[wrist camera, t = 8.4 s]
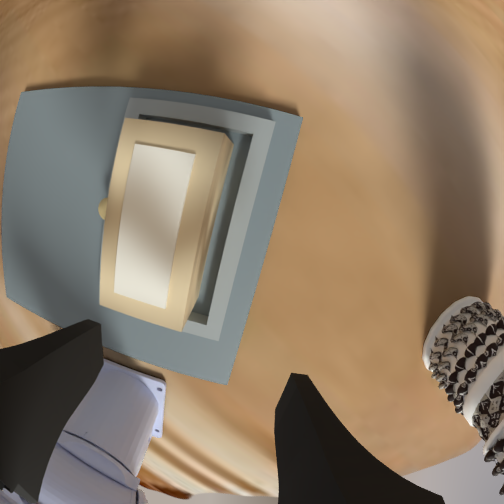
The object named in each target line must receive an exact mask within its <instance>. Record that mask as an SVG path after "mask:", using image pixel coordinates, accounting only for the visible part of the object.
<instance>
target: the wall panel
mask: <svg viewBox="0 0 504 504" xmlns="http://www.w3.org/2000/svg"><path fill="white" fill-rule="evenodd" d="M125 118H132V119H141V120H150V121H157V122H164V123H171V124H178V125H184V126H190V127H195V128H201V129H206V130H211V131H216V132H221V133H225V134H226V136H227V137H228V138H229V139H230V140H231V142H232V143H233V144H234V147H233V151H232V154H231V158H230V162H229V166H228V170H227V174H226V178H225V182H224V186H223V190H222V194H221V198H220V202H219V206H218V210H217V214H216V219H215V223H214V227H213V231H212V236H211V240H210V245H209V249H208V254H207V258H206V263H205V268H204V272H203V277H202V282H201V287H200V292H199V297H198V299H197V301H196V303H195V305H194V307H193V309H192V311H191V313H190V315H189V317H188V320H187V322H186V324H185V326H184V328H183V330H182V332H179V331H176V330H173V329H169V328H166V327H163V326H160V325H156V324H153V323H150V322H147V321H144V320H141V319H138V318H135V317H132V316H129V315H126V314H124V313H121V312H118V311H115V310H112V309H110V308H107V307H104V306H102V305H100V272H101V255H102V243H103V233H104V223H105V215H106V208H107V201H108V194H109V188H110V182H111V177H112V171H113V166H114V161H115V157H116V152H117V148H118V143H119V139H120V135H121V131H122V127H123V123H124V120H125ZM302 120H303V117H300V116H296V115H293V114H289V113H286V112H282V111H278V110H274V109H271V108H267V107H262V106H258V105H254V104H250V103H245V102H240V101H235V100H230V99H225V98H220V97H214V96H208V95H202V94H195V93H188V92H180V91H171V90H161V89H150V88H135V87H67V88H53V89H42V90H34V91H26V92H21V95H20V98H19V102H18V106H17V109H16V113H15V117H14V122H13V126H12V131H11V135H10V141H9V146H8V152H7V159H6V166H5V174H4V184H3V197H2V256H3V270H4V279H5V288H6V295H7V298H9V299H11V300H12V301H14V302H16V303H17V304H19V305H21V306H22V307H24V308H26V309H28V310H29V311H31V312H33V313H35V314H37V315H38V316H40V317H42V318H44V319H46V320H48V321H50V322H52V323H54V324H56V325H58V326H60V327H62V328H66V327H68V326H70V325H73V324H75V323H78V322H81V321H83V320H86V319H90V320H92V321H95V322H97V323H100V324H101V333H102V346H104V347H106V348H109V349H111V350H114V351H116V352H119V353H122V354H124V355H127V356H130V357H132V358H135V359H138V360H141V361H144V362H147V363H149V364H152V365H155V366H159V367H162V368H165V369H168V370H171V371H175V372H178V373H181V374H185V375H188V376H192V377H196V378H199V379H203V380H207V381H211V382H215V383H219V384H224V385H227V384H228V381H229V377H230V374H231V371H232V368H233V364H234V361H235V358H236V354H237V351H238V348H239V344H240V341H241V337H242V334H243V331H244V327H245V324H246V321H247V317H248V314H249V310H250V307H251V303H252V300H253V297H254V293H255V290H256V286H257V283H258V279H259V276H260V272H261V269H262V265H263V262H264V258H265V255H266V251H267V248H268V244H269V241H270V237H271V234H272V230H273V226H274V223H275V219H276V216H277V212H278V209H279V205H280V201H281V198H282V194H283V190H284V187H285V183H286V179H287V176H288V172H289V168H290V165H291V161H292V157H293V154H294V150H295V146H296V142H297V139H298V135H299V131H300V127H301V124H302Z"/></svg>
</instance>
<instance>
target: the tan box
mask: <svg viewBox="0 0 504 504" xmlns="http://www.w3.org/2000/svg"><path fill="white" fill-rule="evenodd" d="M233 147H234V144H233V143H232V142H231V140H230V139H229V138H228V137H227V136H226V134H225V133H221V132H216V131H211V130H206V129H201V128H195V127H190V126H184V125H178V124H171V123H164V122H157V121H150V120H141V119H132V118H125V120H124V123H123V127H122V131H121V135H120V139H119V143H118V148H117V152H116V157H115V161H114V166H113V171H112V177H111V182H110V188H109V194H108V201H107V208H106V215H105V223H104V233H103V243H102V255H101V272H100V305H102V306H104V307H107V308H110V309H112V310H115V311H118V312H121V313H124V314H126V315H129V316H132V317H135V318H138V319H141V320H144V321H147V322H150V323H153V324H156V325H160V326H163V327H166V328H169V329H173V330H176V331H179V332H182V330H183V328H184V326H185V324H186V322H187V320H188V317H189V315H190V313H191V311H192V309H193V307H194V305H195V303H196V301H197V299H198V297H199V292H200V287H201V282H202V277H203V272H204V268H205V263H206V258H207V254H208V249H209V245H210V240H211V236H212V231H213V227H214V223H215V219H216V214H217V210H218V206H219V202H220V198H221V194H222V190H223V186H224V182H225V178H226V174H227V170H228V166H229V162H230V158H231V154H232V151H233Z"/></svg>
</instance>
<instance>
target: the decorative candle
mask: <svg viewBox="0 0 504 504" xmlns="http://www.w3.org/2000/svg"><path fill="white" fill-rule="evenodd" d="M422 359H423V361H424V364H425V367H426V368H427V369H428V370H430V371H432V372H433V374H432V376H431V377H432V378H433V379H434V378H436V380H437V381H438V382H440V383H439V386H438V387H439V389H443V388H445V392H446V393H447V394H448V401H450V402H452V401H453V402H454V405H455V406H456V408H455V411H456V413H461V414H462V415H464V417H465V418H466V420H467V421H468V423H469V424H470V426H474V427H475V428H477V430H478V432H479V435H480V437H481V438H482V439H483V440H484V441H485V442H486V443H485V445H484V447H483V453H484V455H485V458H484V461H485V462H490V461H495V459H497V461H498V463H496V466H495V468H494V469H493V471H492V475H493V476H497V475H499V474H503V475H504V317H503V316H502V314H501V312H500V311H499V310H497V309H495V310H494V309H492V307H491V305H490V304H489V303H487V302H485V303H483V302H482V301H481V299H480V298H478V297H472V296H467V297H464V298H462V299H460V300H457V301H455V302H454V303H453V304H452V305H451V306H449V307H448V308H447V309H446V310H445V311H444V312H442V314H441V315H440V316H439V318H438V319H437V320H436V322H435V323H434V324H433V326H432V327H431V329H430V331H429V333H428V336H427V338H426V340H425V342H424V346H423V354H422ZM499 494H500V495H504V485H503V486H502V488H501V490H500V492H499Z"/></svg>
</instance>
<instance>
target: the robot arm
mask: <svg viewBox="0 0 504 504" xmlns="http://www.w3.org/2000/svg"><path fill="white" fill-rule="evenodd" d="M165 394H166V383H165V381H163V380H161V379H158V378H155V377H152V376H149V375H146V374H143V373H140V372H138V371H135V370H132V369H129V368H127V367H124V366H121V365H119V364H116V363H114V362H111V361H109V360H106V359H104V358H103V348H102V333H101V324H100V323H97V322H95V321H92V320H90V319H86V320H83V321H81V322H78V323H75V324H73V325H70V326H68V327H66V328H63V329H61V330H58V331H56V332H53V333H51V334H48V335H46V336H43V337H40V338H37V339H34V340H31V341H28V342H25V343H22V344H19V345H16V346H12V347H7V348H3V349H0V504H148V502H147V500H146V498H145V494H144V492H143V491H142V490H140V489H138V485H139V482H140V479H139V478H137V477H136V476H137V474H138V473H139V470H140V467H141V464H142V462H143V459H144V456H145V453H146V451H147V448H148V445H149V443H150V440H151V437H152V436H154V437H158V438H161V437H162V431H163V417H164V405H165ZM274 434H275V446H276V457H277V468H278V479H279V498H278V504H445V502H444V500H443V497H442V496H440V495H437V494H435V493H433V492H431V491H428V490H426V489H424V488H421V487H419V486H417V485H415V484H413V483H412V482H410V481H408V480H406V479H405V478H403V477H401V476H400V475H398V474H397V473H395V472H394V471H392V470H391V469H389V468H388V467H387V466H385V465H384V464H383V463H381V462H380V461H379V460H378V459H376V458H375V457H374V456H373V455H372V454H371V453H370V452H368V451H367V450H366V449H365V448H364V447H363V446H362V445H361V444H360V443H359V442H358V441H357V440H356V439H355V438H354V437H353V436H352V435H351V433H350V432H349V431H348V430H347V429H346V428H345V426H344V425H343V424H342V423H341V422H340V420H339V419H338V418H337V417H336V415H335V414H334V413H333V411H332V410H331V409H330V407H329V406H328V404H327V403H326V402H325V400H324V399H323V397H322V396H321V394H320V393H319V392H318V390H317V389H316V387H315V386H314V384H313V383H312V381H311V380H310V378H309V377H308V375H304V374H296V373H291V375H290V377H289V380H288V382H287V384H286V386H285V389H284V391H283V393H282V396H281V398H280V400H279V402H278V404H277V407H276V409H275V427H274ZM2 490H4V491H2Z"/></svg>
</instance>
